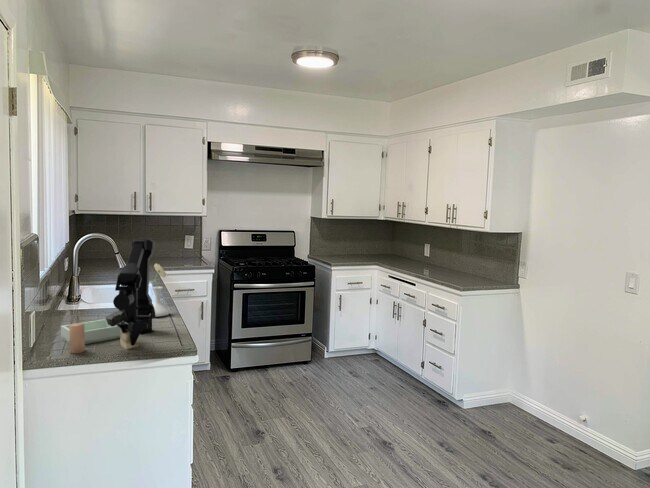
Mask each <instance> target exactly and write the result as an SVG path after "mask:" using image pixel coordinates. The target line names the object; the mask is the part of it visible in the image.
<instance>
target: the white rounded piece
mask: <svg viewBox="0 0 650 488" xmlns="http://www.w3.org/2000/svg"><path fill="white" fill-rule="evenodd" d="M153 267H154V269H155V271H156V272H157V273H156V274H155V277H154V279H153V282H154V283H155V285H156V286H152V290H153V291H154V303H152V304H153V306H154V309H155V318H156V317H157V318H158V317H159V318H160V317H164V316H169V314H170V313H171V310H170V309H169V308H168V307H167V306H166V305H164V304H163V303H162V302H161V292H162V290H163V289H164V286H158V284H160V283H162V280H160V281H159V282H157V276H158V275H160V277H163V278H165V277H167V276H166V274H167V273H166V271H165V269H164V267H162V266H161V265H160V264H159V263H154V265H153Z"/></svg>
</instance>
